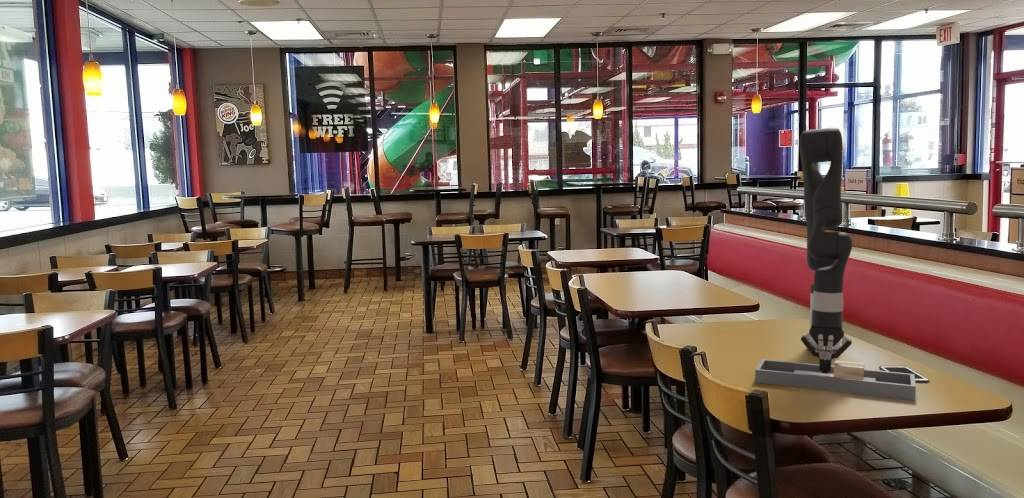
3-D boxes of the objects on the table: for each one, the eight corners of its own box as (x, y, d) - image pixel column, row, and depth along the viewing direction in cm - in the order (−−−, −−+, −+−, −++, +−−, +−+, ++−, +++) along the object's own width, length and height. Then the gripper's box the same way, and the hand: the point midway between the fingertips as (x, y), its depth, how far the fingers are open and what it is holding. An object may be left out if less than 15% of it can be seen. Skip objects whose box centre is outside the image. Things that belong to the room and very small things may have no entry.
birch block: (834, 375, 206) (835, 360, 206) (863, 378, 203) (864, 363, 203) (833, 380, 202) (834, 365, 201) (863, 383, 199) (863, 368, 198)
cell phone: (900, 383, 206) (901, 380, 206) (877, 369, 221) (877, 365, 221) (930, 384, 206) (931, 380, 206) (905, 369, 220) (905, 365, 220)
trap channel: (761, 371, 218) (761, 359, 218) (913, 387, 202) (914, 374, 201) (754, 382, 207) (755, 369, 207) (915, 400, 191) (915, 386, 191)
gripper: (855, 307, 204) (852, 371, 206) (802, 303, 209) (799, 366, 211) (854, 312, 197) (851, 379, 199) (799, 308, 203) (796, 373, 205)
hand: (824, 372), depth 205 cm, fingers closed
